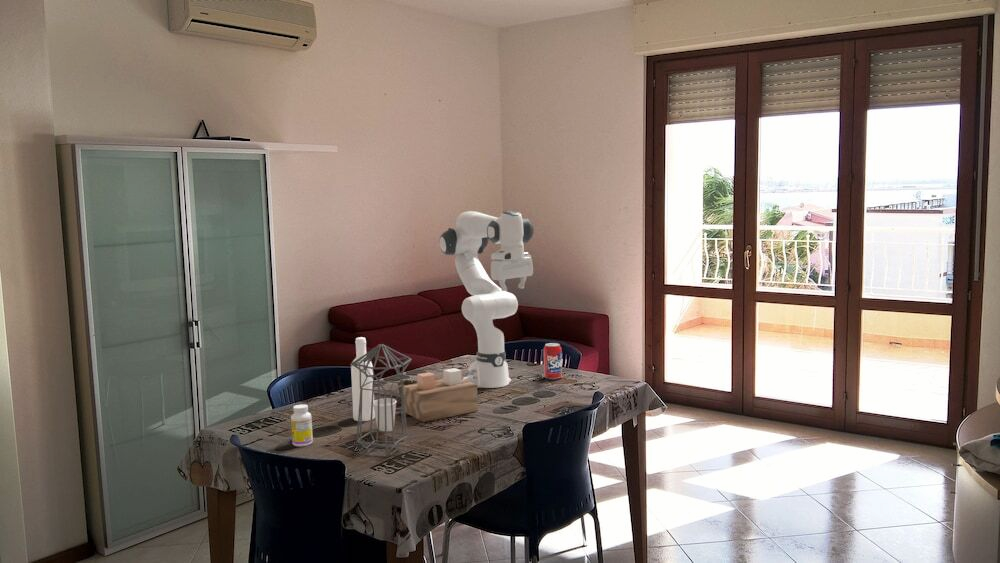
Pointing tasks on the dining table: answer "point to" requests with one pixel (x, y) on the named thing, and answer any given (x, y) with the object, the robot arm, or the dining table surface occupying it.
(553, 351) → the soda can
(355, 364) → the geometric lantern
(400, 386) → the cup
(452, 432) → the dining table surface
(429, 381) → the peg terracotta
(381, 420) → the dixie cup
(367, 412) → the bottle
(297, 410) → the supplement bottle
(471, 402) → the light wood block
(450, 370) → the white rectangular block
